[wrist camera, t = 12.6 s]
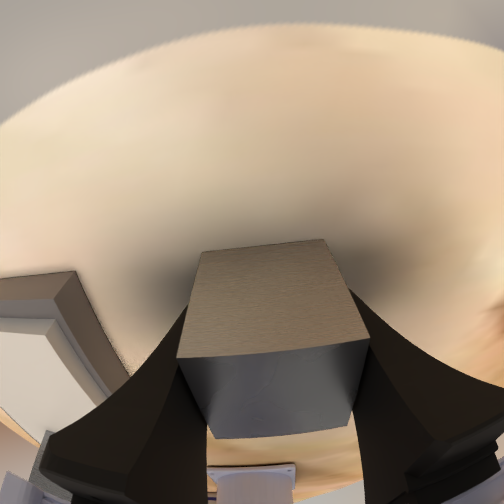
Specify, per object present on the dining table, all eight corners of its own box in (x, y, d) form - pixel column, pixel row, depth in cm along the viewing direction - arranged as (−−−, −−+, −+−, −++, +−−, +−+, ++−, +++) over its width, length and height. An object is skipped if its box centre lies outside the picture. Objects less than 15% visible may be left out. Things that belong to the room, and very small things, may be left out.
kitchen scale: (184, 453, 20) (181, 484, 17) (44, 428, 20) (35, 450, 17) (75, 271, 11) (41, 315, 8) (-62, 285, 12) (-83, 308, 9)
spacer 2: (321, 328, 13) (346, 425, 8) (222, 338, 13) (215, 439, 8) (323, 239, 10) (370, 337, 6) (202, 252, 11) (176, 357, 6)
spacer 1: (121, 466, 16) (111, 521, 11) (76, 456, 16) (63, 505, 11) (93, 442, 14) (76, 506, 9) (46, 429, 14) (27, 484, 9)
